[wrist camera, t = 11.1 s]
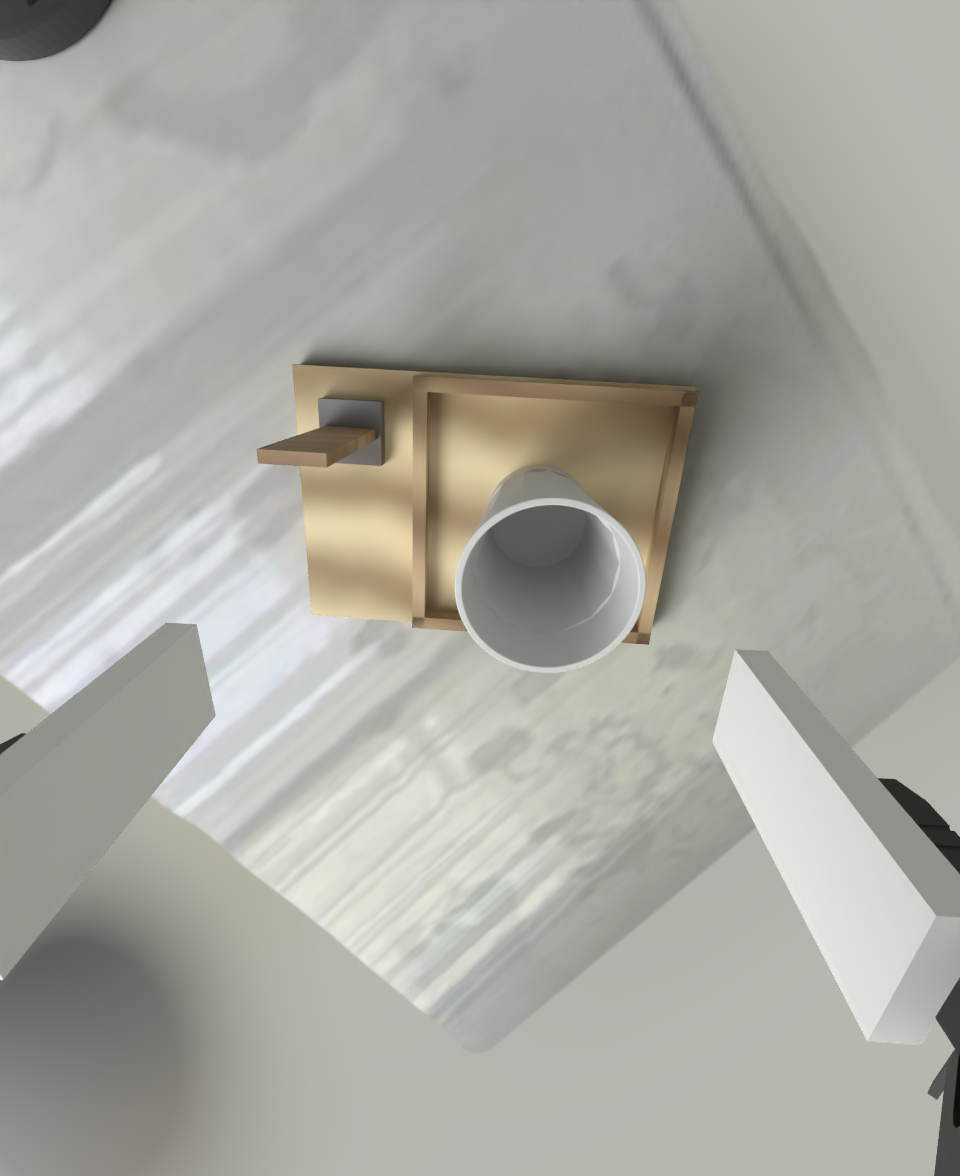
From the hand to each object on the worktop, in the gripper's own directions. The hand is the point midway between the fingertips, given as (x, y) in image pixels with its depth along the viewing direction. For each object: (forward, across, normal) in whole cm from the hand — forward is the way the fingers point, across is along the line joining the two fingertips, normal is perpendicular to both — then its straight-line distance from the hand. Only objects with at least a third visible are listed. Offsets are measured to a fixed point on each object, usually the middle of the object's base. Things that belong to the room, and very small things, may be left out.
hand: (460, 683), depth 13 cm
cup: (+22, +3, -2) cm, 22 cm away
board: (+23, 0, -2) cm, 23 cm away
